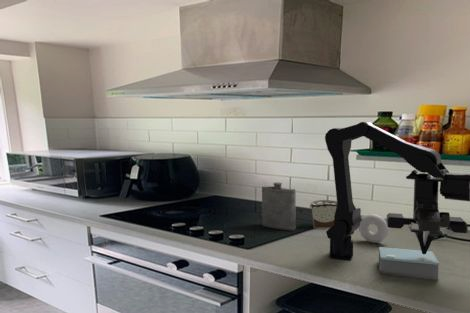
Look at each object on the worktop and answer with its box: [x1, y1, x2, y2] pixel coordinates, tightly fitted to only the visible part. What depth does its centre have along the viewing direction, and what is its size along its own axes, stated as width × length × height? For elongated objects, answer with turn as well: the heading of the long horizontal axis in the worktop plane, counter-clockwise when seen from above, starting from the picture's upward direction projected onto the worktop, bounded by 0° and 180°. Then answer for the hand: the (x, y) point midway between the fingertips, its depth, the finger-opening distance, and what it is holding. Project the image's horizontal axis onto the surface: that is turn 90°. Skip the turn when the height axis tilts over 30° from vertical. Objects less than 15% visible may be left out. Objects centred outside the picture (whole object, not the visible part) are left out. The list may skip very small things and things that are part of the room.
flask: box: [261, 181, 297, 231], centre depth 145 cm, size 4×14×18 cm, turn 57°
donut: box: [358, 213, 390, 244], centre depth 126 cm, size 10×4×10 cm, turn 54°
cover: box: [378, 246, 440, 266], centre depth 102 cm, size 14×9×1 cm
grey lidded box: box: [378, 251, 439, 281], centre depth 103 cm, size 14×9×4 cm, turn 72°
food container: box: [309, 199, 337, 229], centre depth 147 cm, size 12×6×10 cm, turn 92°
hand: (423, 253), depth 99 cm, fingers closed
